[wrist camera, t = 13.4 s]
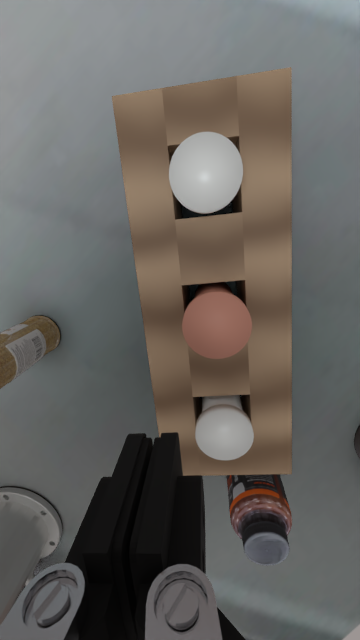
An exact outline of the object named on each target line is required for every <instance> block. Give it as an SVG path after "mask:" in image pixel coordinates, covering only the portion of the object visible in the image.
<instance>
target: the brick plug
mask: <svg viewBox="0 0 360 640" xmlns="http://www.w3.org/2000/svg"><path fill="white" fill-rule="evenodd" d="M182 331H183V335H184V338H185V340H186V342H187V344H188V345H189V346H190V348H191V349H192V350H193V351H195V352H196V353H198V354H199V355H201V356H204V357H206V358H210V359H223V358H227V357H230V356H233V355H234V354H236V353H238V352H239V351H240V350H241V349H242V348H243V347H244V346H245V345H246V343H247V342H248V340H249V338H250V335H251V331H252V320H251V316H250V313H249V311H248V309H247V308H246V306H245V304H244V303H243V302H242V301H241V300H240V299H239V298H238V297H237V296H236V295H234V294H233V293H232V291H231V289H230V287H229V286H228V285H227V284H226V283H225V282H215V283H204V284H200V285H199V286H198V288H197V290H196V292H195V297H194V299H193V300H192V301H191V302H190V304H189V305H188V307H187V308H186V311H185V313H184V317H183V321H182Z"/></svg>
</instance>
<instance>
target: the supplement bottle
mask: <svg viewBox="0 0 360 640" xmlns="http://www.w3.org/2000/svg"><path fill="white" fill-rule="evenodd" d="M227 484H228V496H229V509H230V518H231V525H232V527H233V529H234V531H235V532H236V534H237V535H238V536H239V537H240V538H241V539H242V541H243V546H244V551H245V554H246V556H247V557H248V558H249V559H250V560H251V561H253V562H255V563H257V564H260V565H266V566H267V565H275V564H278V563H280V562H282V561H284V560H285V558H286V557H287V556H288V554H289V543H288V539H287V535H288V533H289V532H290V530H291V526H292V516H291V511H290V508H289V504H288V501H287V498H286V494H285V491H284V487H283V484H282V481H281V478H280V474H264V475H227Z"/></svg>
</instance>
